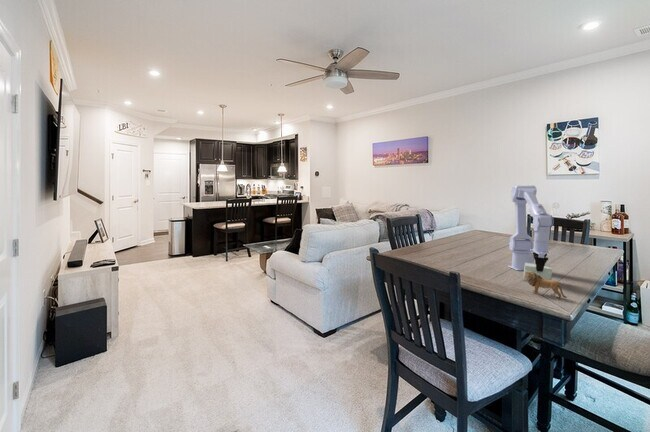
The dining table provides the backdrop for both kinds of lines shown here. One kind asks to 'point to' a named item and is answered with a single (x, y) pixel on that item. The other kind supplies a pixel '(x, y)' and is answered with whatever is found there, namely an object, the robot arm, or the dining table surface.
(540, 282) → the lion figurine
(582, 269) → the dining table surface
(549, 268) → the pale green block
